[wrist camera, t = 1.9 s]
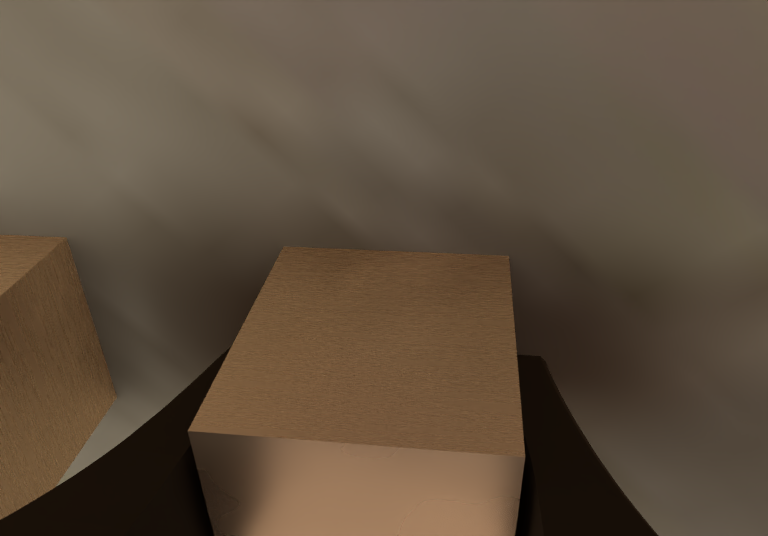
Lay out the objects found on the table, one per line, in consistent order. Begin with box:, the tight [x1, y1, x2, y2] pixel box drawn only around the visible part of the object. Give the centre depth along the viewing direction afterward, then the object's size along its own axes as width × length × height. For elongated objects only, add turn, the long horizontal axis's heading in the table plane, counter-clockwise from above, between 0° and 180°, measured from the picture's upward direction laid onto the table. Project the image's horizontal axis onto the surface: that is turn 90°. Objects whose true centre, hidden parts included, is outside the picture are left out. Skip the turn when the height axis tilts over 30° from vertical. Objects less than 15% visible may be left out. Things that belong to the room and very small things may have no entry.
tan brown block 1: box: [188, 247, 525, 536], centre depth 12 cm, size 4×4×5 cm
